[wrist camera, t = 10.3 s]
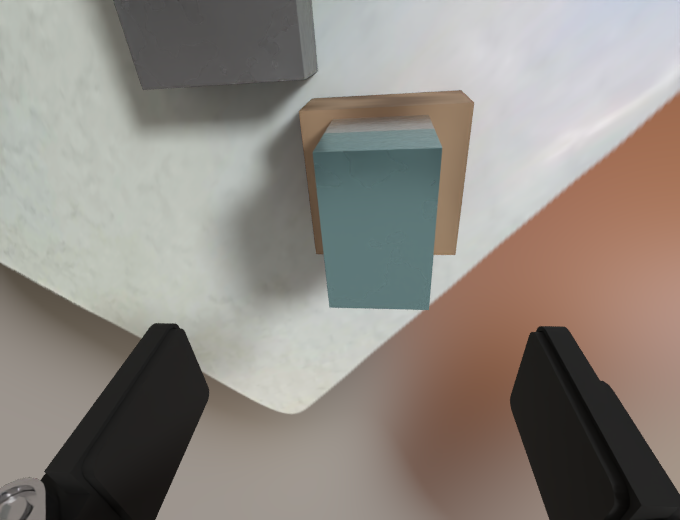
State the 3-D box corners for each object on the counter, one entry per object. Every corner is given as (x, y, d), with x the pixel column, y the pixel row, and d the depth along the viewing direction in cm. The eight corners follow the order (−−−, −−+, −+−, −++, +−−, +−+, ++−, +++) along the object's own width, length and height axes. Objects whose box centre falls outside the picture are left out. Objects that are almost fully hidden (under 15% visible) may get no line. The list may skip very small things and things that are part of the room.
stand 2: (325, 226, 27) (316, 254, 24) (312, 98, 23) (298, 111, 19) (447, 225, 26) (455, 254, 23) (461, 90, 21) (474, 102, 18)
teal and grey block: (332, 119, 19) (312, 152, 14) (428, 114, 19) (442, 147, 14) (342, 247, 24) (329, 307, 19) (420, 247, 23) (428, 309, 18)
